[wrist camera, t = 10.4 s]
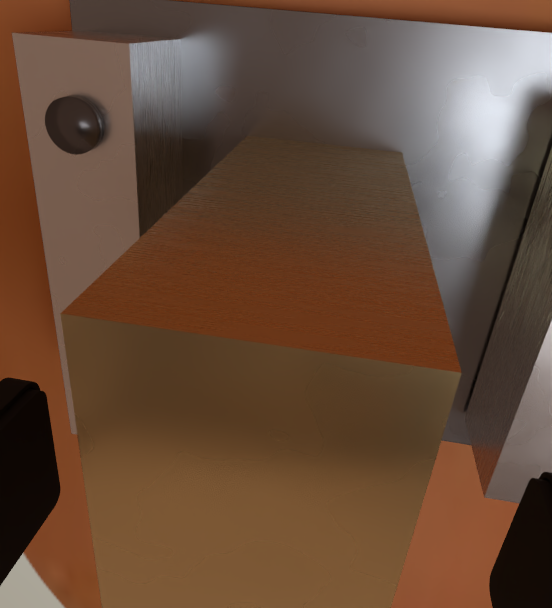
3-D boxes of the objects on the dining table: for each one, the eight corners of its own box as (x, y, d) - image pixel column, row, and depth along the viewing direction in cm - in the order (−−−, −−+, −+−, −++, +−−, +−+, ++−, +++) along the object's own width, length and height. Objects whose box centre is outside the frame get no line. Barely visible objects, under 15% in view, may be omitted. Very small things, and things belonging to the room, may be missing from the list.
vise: (751, 50, 15) (935, 64, 10) (570, 441, 22) (628, 560, 17) (86, -7, 17) (-27, -18, 12) (118, 371, 24) (56, 459, 19)
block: (402, 152, 17) (461, 372, 6) (363, 360, 20) (358, 712, 10) (247, 135, 17) (60, 313, 7) (237, 341, 21) (109, 659, 11)
